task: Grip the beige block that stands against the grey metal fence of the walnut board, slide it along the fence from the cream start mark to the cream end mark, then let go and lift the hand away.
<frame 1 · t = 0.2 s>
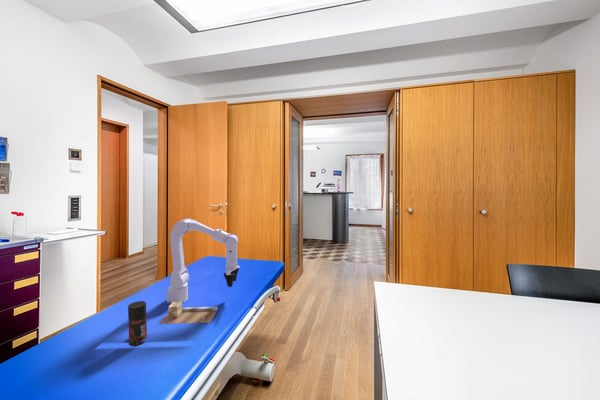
hand: (231, 283, 133), 10 cm above the table, fingers open, 7 cm apart
deodorant: (138, 342, 99), on the table
walnut board: (189, 319, 116), on the table
beige block: (175, 314, 117), point 1 cm above the table, touching walnut board
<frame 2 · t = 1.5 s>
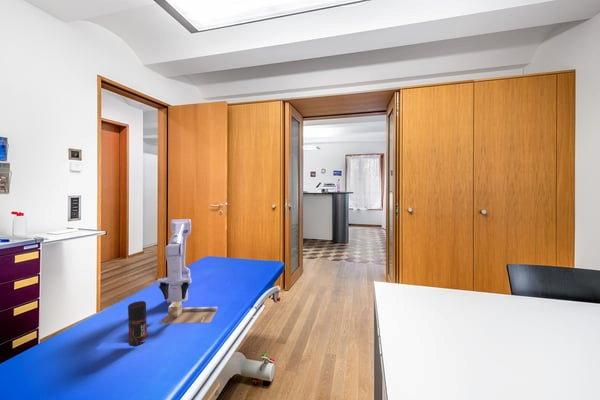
hand: (175, 298, 117), 9 cm above the table, fingers open, 7 cm apart
nothing on the table moved.
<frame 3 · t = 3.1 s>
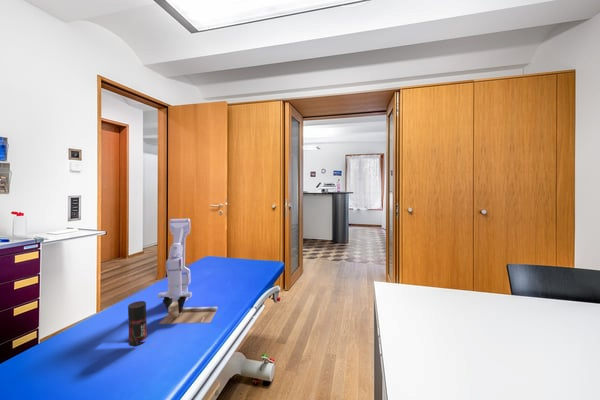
hand: (175, 312, 117), 3 cm above the table, fingers closed on beige block, 4 cm apart
beige block: (175, 314, 117), point 1 cm above the table, touching gripper, walnut board
everything else where it was.
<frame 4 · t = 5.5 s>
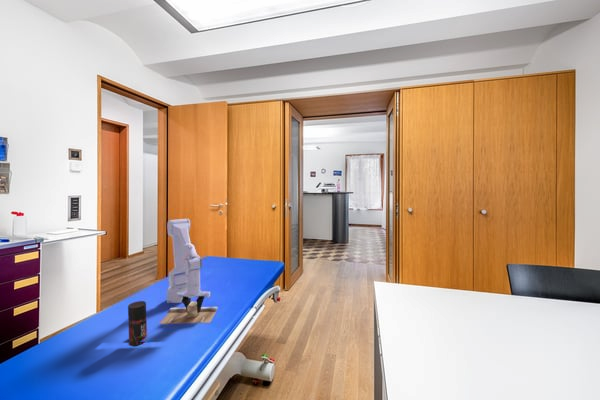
hand: (193, 312, 118), 3 cm above the table, fingers closed on beige block, 4 cm apart
beige block: (193, 314, 118), point 2 cm above the table, touching gripper
everything else where it was.
when the fingers open (3 cm above the table, at t = 8.1 s): beige block stays where it is, resting on walnut board.
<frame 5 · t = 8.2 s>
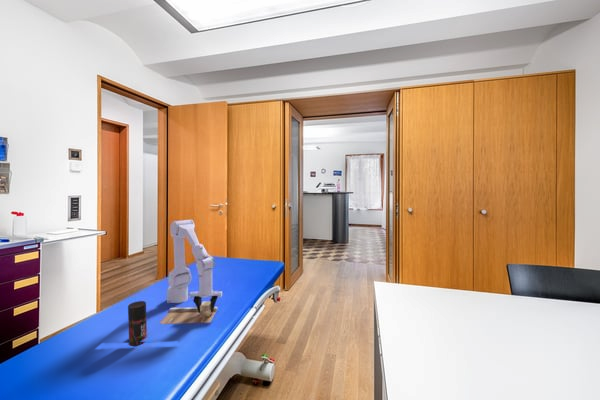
hand: (206, 311, 118), 3 cm above the table, fingers open, 5 cm apart
beige block: (206, 314, 118), point 1 cm above the table, touching walnut board
everything else where it was.
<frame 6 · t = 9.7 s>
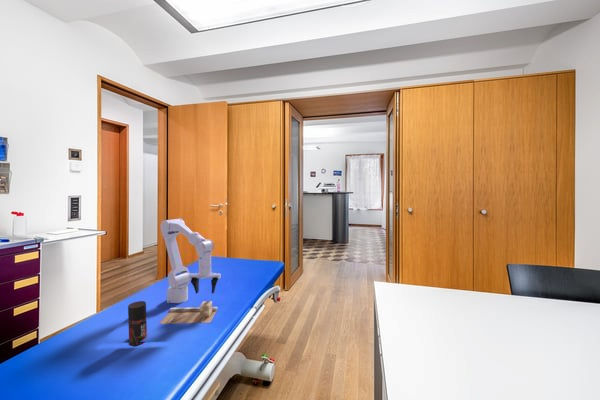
hand: (205, 292, 123), 9 cm above the table, fingers open, 7 cm apart
nothing on the table moved.
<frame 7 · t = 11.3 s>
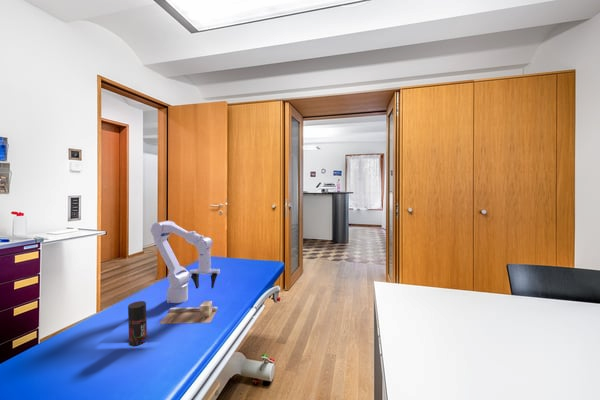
hand: (205, 287, 129), 9 cm above the table, fingers open, 7 cm apart
nothing on the table moved.
at the end: beige block 0.4 cm from the target spot, point 1.5 cm above the table; beige block tilted 0°; the gripper is holding nothing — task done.
